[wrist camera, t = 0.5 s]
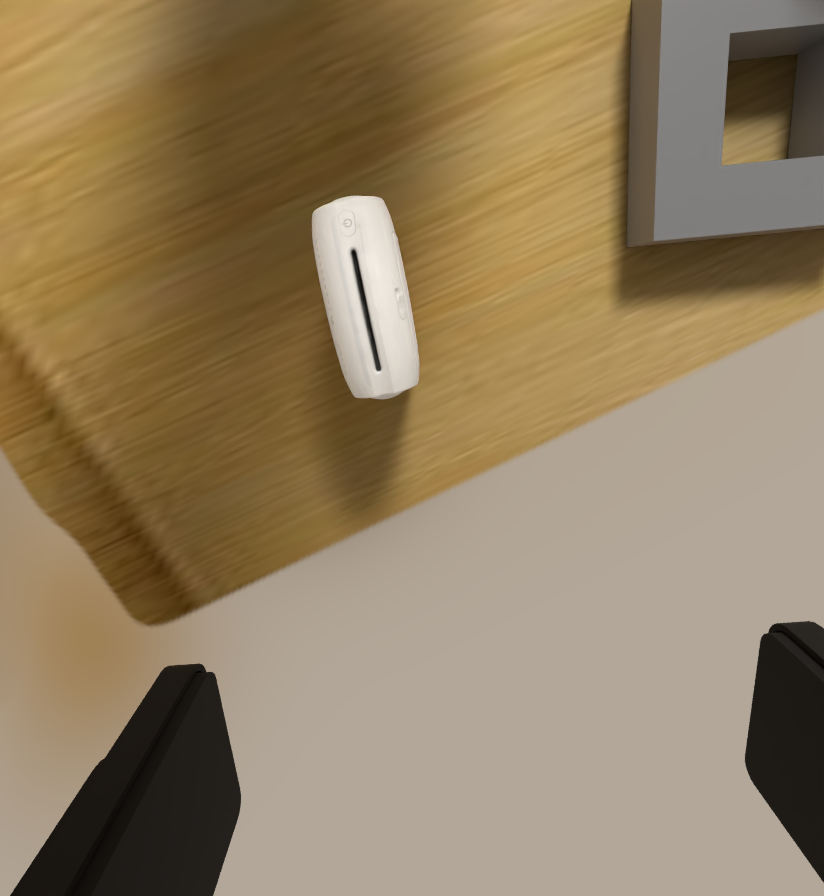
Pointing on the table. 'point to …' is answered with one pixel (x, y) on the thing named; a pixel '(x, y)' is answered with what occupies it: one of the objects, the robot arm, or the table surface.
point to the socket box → (719, 121)
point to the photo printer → (366, 296)
